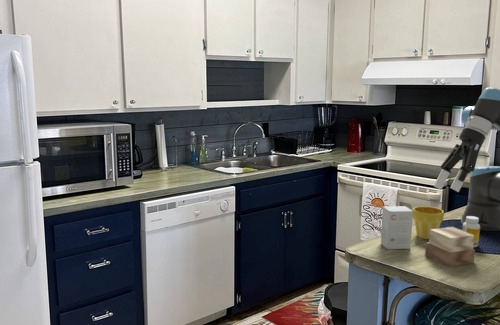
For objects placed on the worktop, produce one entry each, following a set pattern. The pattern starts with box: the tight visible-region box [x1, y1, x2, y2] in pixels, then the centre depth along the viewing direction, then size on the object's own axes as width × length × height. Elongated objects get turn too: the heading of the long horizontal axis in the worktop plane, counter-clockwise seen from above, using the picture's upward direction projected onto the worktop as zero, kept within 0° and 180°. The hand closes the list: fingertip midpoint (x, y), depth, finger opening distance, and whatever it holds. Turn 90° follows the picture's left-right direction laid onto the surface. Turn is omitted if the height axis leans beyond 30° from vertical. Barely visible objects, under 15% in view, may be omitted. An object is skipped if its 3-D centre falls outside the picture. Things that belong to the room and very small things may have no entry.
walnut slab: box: [424, 241, 476, 267], centre depth 153 cm, size 10×10×4 cm
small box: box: [380, 205, 413, 250], centre depth 162 cm, size 8×6×13 cm
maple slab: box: [428, 226, 474, 253], centre depth 152 cm, size 9×9×4 cm
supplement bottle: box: [461, 216, 481, 248], centre depth 165 cm, size 5×5×10 cm
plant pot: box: [412, 205, 445, 240], centre depth 173 cm, size 10×10×10 cm
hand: (445, 188), depth 162 cm, fingers open, 13 cm apart
